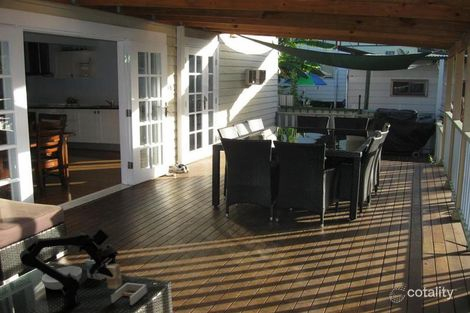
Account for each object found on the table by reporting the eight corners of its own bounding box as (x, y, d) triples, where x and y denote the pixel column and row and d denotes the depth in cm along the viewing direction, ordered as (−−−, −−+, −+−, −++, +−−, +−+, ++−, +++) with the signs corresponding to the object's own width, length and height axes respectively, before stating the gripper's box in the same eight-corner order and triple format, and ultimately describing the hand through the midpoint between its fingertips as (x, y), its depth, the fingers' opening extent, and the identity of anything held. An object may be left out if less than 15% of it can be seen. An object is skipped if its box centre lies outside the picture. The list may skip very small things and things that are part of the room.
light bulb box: (87, 278, 264) (84, 260, 262) (96, 273, 270) (93, 255, 268) (101, 280, 259) (99, 262, 257) (110, 275, 265) (107, 257, 263)
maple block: (116, 289, 230) (113, 268, 228) (107, 288, 232) (105, 267, 230) (122, 284, 235) (119, 264, 233) (114, 283, 237) (111, 263, 235)
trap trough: (132, 305, 227) (131, 297, 226) (111, 302, 232) (110, 295, 231) (147, 291, 240) (146, 284, 239) (127, 289, 244) (126, 282, 244)
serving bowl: (89, 276, 266) (87, 265, 265) (73, 293, 246) (71, 281, 245) (54, 277, 269) (52, 266, 267) (35, 295, 248) (33, 283, 247)
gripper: (90, 248, 222) (113, 272, 220) (112, 235, 239) (134, 256, 238) (79, 263, 226) (101, 286, 224) (101, 249, 243) (122, 270, 242)
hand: (115, 274), depth 232 cm, fingers closed on maple block, 5 cm apart
